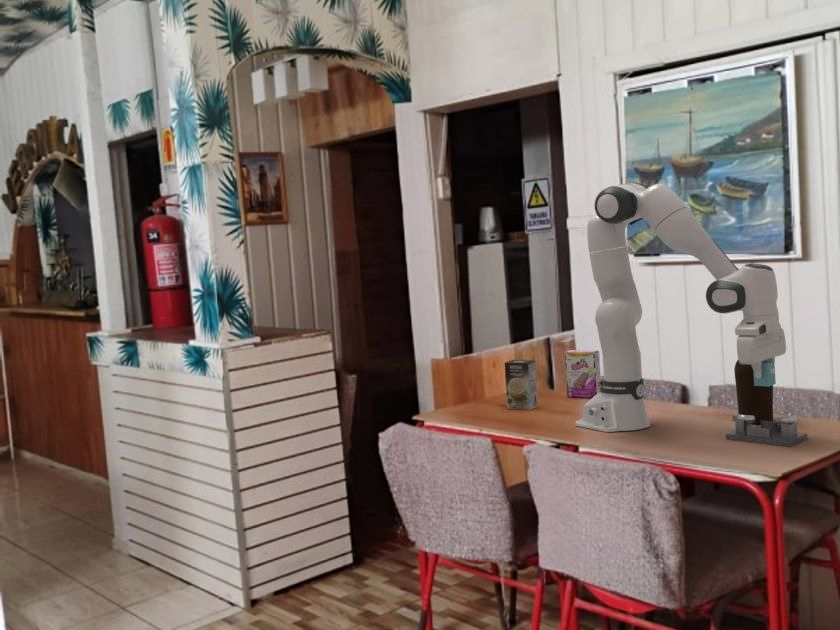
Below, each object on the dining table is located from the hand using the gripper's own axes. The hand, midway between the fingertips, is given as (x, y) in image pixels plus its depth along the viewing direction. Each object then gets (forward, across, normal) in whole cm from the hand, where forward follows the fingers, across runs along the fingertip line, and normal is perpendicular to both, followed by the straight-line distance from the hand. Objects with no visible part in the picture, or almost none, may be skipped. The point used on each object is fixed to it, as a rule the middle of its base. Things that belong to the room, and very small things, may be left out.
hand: (764, 376), depth 251 cm
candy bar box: (+17, -28, -81) cm, 88 cm away
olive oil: (+17, -18, -12) cm, 28 cm away
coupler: (+2, 0, 0) cm, 2 cm away
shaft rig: (+17, 0, 0) cm, 17 cm away
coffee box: (+16, -4, -89) cm, 91 cm away
